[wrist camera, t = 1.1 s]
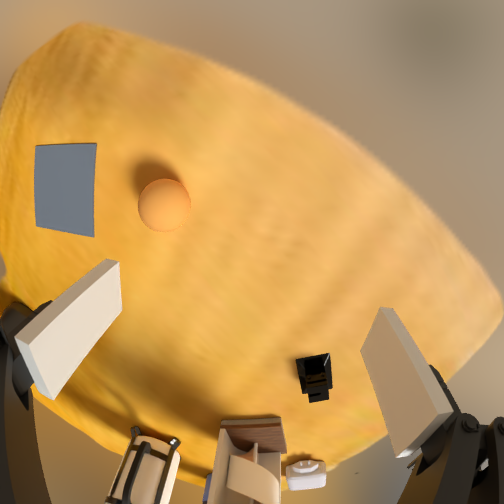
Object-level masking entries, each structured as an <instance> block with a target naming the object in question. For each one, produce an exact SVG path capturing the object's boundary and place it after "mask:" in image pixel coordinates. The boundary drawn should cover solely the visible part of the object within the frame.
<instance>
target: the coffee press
mask: <svg viewBox="0 0 504 504" xmlns="http://www.w3.org/2000/svg"><path fill="white" fill-rule="evenodd" d="M134 428H135V430H136V432H137V434H138V436H136V435H135V430H134ZM131 434H132V439H131V440H130V442H129V444H128V447H127V449H126V451H125V454H124V456H123V459H122V461H121V464H120V466H119V469H118V471H117V474H116V477H115V479H114V481H113V484H112V487H111V489H110V492H109V494H108V496H107V497H106V499H105V502H104V503H105V504H169V500H170V496H171V492H172V488H173V485H174V480H175V477H176V473H177V469H178V465H179V461H180V460H181V457H180V455H179V453H178V452H177V451H176V448H177V447H178V446H179V445H180V443H181V442H180V441H179V440H178V439H176V438H174V439H172V440H171V441H170V442H169V443H165V442H163V441H161V440H158V439H155V438H152V437H148V436H143V435H142V434H141V432H140V429H139V428H138V427H137V426H135V427H131Z"/></svg>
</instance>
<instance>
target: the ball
mask: <svg viewBox="0 0 504 504" xmlns="http://www.w3.org/2000/svg"><path fill="white" fill-rule="evenodd" d="M190 209H191V201H190V197H189V194H188V192H187V190H186V189H185V188H184V186H183V185H181V184H180V183H179V182H177V181H175V180H172V179H158V180H155V181H153V182H151V183H150V184H149V185H147V186H146V187H145V188H144V190H143V191H142V193H141V195H140V197H139V201H138V211H139V215H140V217H141V219H142V221H143V222H144V224H145V225H146V226H147V227H149V228H150V229H152V230H154V231H157V232H170V231H173V230H175V229H177V228H179V227H180V226H181V225H183V223H184V222H185V221H186V220H187V218H188V216H189V213H190Z"/></svg>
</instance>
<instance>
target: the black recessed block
mask: <svg viewBox="0 0 504 504" xmlns="http://www.w3.org/2000/svg"><path fill="white" fill-rule="evenodd" d="M296 364H297V369H298V374H299V379H300V384H301V389H302V394H306V393H308V397H309V403H312V402H318V401H323V400H328V399H329V391H328V389H332V388H333V386H332V372H331V360H330V353H326V354H321V355H316V356H311V357H305V358H300V359H296Z"/></svg>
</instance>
